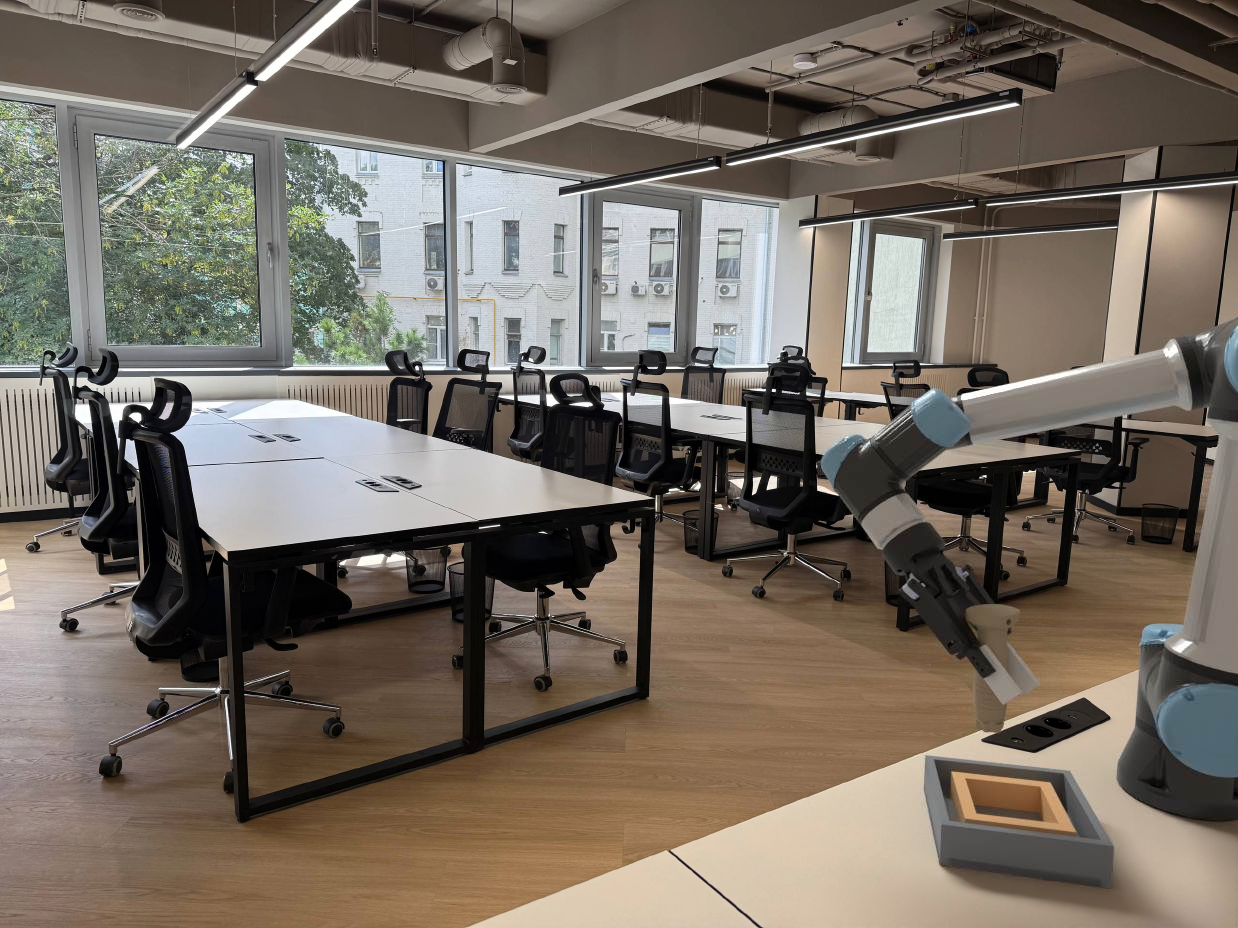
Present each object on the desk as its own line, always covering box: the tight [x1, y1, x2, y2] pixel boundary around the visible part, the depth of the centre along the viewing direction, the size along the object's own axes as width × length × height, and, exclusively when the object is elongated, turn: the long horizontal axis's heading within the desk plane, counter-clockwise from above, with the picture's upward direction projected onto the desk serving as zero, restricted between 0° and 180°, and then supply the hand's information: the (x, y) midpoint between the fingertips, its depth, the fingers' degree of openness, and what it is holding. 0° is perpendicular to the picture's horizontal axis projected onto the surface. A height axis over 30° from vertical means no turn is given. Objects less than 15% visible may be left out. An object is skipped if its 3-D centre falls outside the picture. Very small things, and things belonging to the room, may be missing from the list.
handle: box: [966, 603, 1021, 734], centre depth 102 cm, size 5×6×15 cm
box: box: [923, 754, 1115, 889], centre depth 104 cm, size 18×18×5 cm
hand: (1021, 693), depth 99 cm, fingers closed on handle, 3 cm apart
